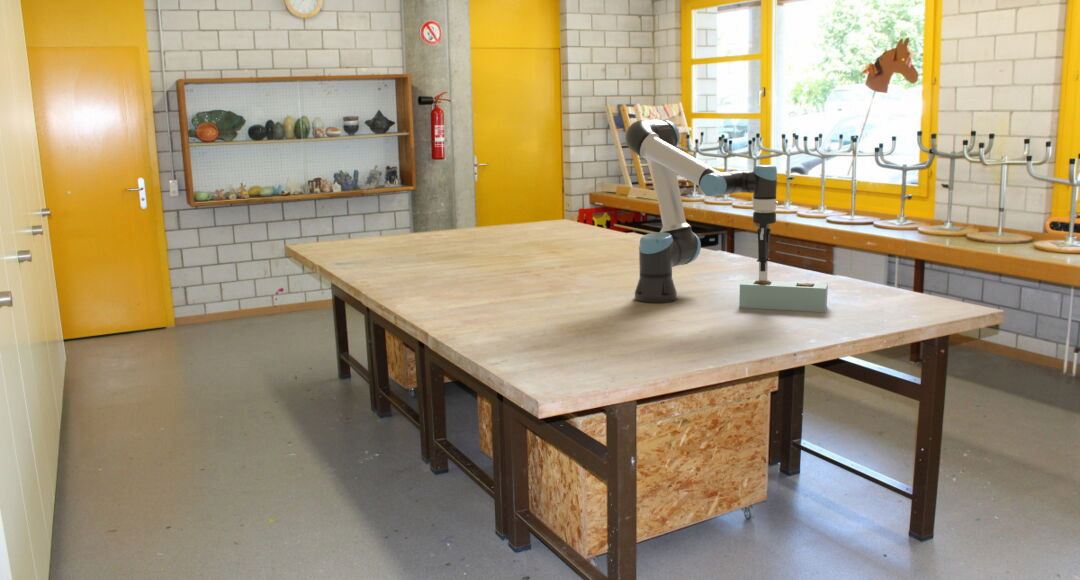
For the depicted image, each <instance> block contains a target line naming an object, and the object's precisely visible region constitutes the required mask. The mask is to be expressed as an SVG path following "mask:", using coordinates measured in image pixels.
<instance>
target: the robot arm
mask: <svg viewBox="0 0 1080 580" xmlns="http://www.w3.org/2000/svg"><path fill="white" fill-rule="evenodd" d="M680 137H681V136H680V132H679V129H678V127H677V126H676V124H675V123H674V122H672V121H671V120H667V119H662V118H657V119H646V120H645V119H644V120H643V119H640V120H637V121H635V122H633V123H631V124H630V125H629V127H628V128H627V130H626V132H625V138H624V139H625V143H626V145H627V147H628V149H629V150H631V152H632V153H633V154H636V155H637V156H639V157H641V158H643V159H645V161H647V162H648V163H649V164H650V167H651V171H652V176H653V177H652V178H653V184H654V188H655V193H656V198H657V199H656V200H657V202H658V208H659V213H660V220H661V224H662V226H661V227H662V228H661V229H660V231H659V232H657V231H656V232H650V233H647V234H644V235H642V236H641V238H640V239H639V247H638V250H639V252H638V253H639V258H638V259H639V260H638V261H639V279H638V281H637V284H636V285H637V286H636V288H635V289H634V290H635V291H634V300H636V301H638V302H642V303H651V304H652V303H653V304H654V303H655V304H656V303H657V304H659V303H660V304H661V303H662V304H663V303H670V302H674V301H677V298H678V292H677V289H676V286H675V283H674V279H673V267H679V266H683V265H688V264H690V263H692V262H694V261H695V260H697V258H698V257H699V255H700V253H701V249H702V243H701V239H700V238H699V236H698V235H697V234H696V233H695V232H693V230H692V226H691V225H690V224H689V223H688V222H687V221H686V216H685V210H684V205H683V201H682V195H681V189H680V185H679V180H678V176H677V175H679V176H680V177H683V178H684V179H685V180H687V181H689V182H691V183H693V184H695V185H696V186H697V187H699V188H700V190H701V192H702V193H703V194H704V195H705V196H706V197H707V196H708V197H720V196H723V195H731V194H740V193H743V194H744V193H745V194H746V193H748V194H753V198H752V199H753V200H752V210H753V213H752V222H753V223H754V224H759V227H758V228H757V232H756V233H757V242H758V243H757V244H758V247H757V249H758V251H757V252H758V253H757V254H758V258H757V259H756V262H758V280H761V281H767V280H768V267H769V262H770V261H771V258H769V257H770V253H769V251H770V239H771V232H772V228H771V227H770V224H775V223H776V222H777V213H776V211H777V205H778V204H779V201H777V186H778V185H777V184H778V169H777V167H776V165H773V164H757V165H755V166H754V167H753V170H742V169H741V170H740V169H739V170H738V169H726V170H725V171H723V172H721V171H719V170H717V169H715V168H713V166H710V165H708V164H706V163H705V162H703V161H702V160H699V159H697V158H695V157H694V156H692V155H690V154H688V153H686V152H685V151H682V149H679V148H677V147H678V146H679V142H680V139H681V138H680Z"/></svg>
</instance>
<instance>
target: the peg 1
mask: <svg viewBox="0 0 1080 580" xmlns="http://www.w3.org/2000/svg"><path fill="white" fill-rule="evenodd" d="M755 280H756V284H761V285H770V281H771V280H769V279H767V281H761V280H759V279H755Z"/></svg>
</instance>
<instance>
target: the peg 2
mask: <svg viewBox="0 0 1080 580" xmlns="http://www.w3.org/2000/svg"><path fill="white" fill-rule="evenodd" d="M811 283H812V282H806V283H798V286H802V287H812V284H811Z"/></svg>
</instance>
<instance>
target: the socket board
mask: <svg viewBox="0 0 1080 580" xmlns="http://www.w3.org/2000/svg"><path fill="white" fill-rule="evenodd" d="M756 280H757V279H743V280H742V281H741V282H740V283H739V302H738V304H739V308H743V309H745V308H746V309H763V310H775V311H776V310H779V311H781V310H782V311H797V312H815V313H826V311H827V307H828V290H829V289H828V287H829V286H828V285H829V283H823V282H810V283H811V284H812V287H802V286H798V283H807V282H805V281H802V282H801V281H783V280H781V281H780V280H769V281H770V285H761V284H756Z"/></svg>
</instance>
